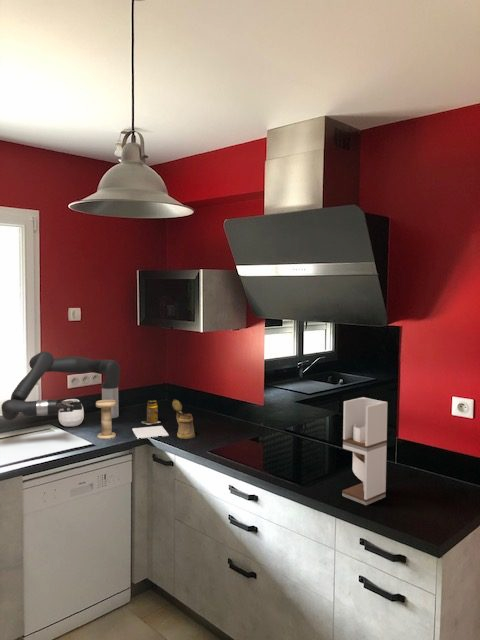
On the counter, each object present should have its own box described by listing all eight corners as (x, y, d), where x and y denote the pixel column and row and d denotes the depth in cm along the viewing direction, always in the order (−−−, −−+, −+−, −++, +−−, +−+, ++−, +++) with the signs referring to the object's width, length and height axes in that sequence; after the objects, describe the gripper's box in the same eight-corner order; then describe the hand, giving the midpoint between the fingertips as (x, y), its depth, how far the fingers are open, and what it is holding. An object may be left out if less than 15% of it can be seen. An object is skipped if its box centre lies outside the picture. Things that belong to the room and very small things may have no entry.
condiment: (160, 422, 293) (160, 401, 292) (148, 425, 287) (147, 403, 286) (153, 419, 298) (153, 399, 297) (140, 422, 292) (140, 401, 291)
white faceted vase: (64, 429, 277) (64, 404, 277) (54, 424, 287) (54, 400, 286) (88, 425, 286) (87, 401, 285) (77, 420, 296) (77, 397, 295)
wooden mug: (180, 431, 275) (180, 397, 274) (198, 436, 266) (198, 401, 265) (167, 434, 268) (167, 400, 267) (185, 440, 259) (185, 404, 258)
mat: (132, 429, 278) (132, 428, 278) (161, 426, 284) (161, 425, 283) (137, 438, 261) (137, 437, 261) (168, 435, 267) (168, 434, 267)
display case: (361, 488, 199) (363, 397, 196) (385, 497, 190) (387, 402, 188) (342, 495, 191) (343, 401, 189) (366, 505, 183) (367, 406, 181)
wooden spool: (95, 435, 268) (95, 400, 267) (115, 433, 271) (115, 398, 270) (97, 440, 259) (96, 404, 257) (117, 438, 262) (117, 403, 261)
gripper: (46, 402, 247) (82, 400, 253) (46, 397, 261) (80, 395, 266) (46, 418, 248) (82, 416, 253) (47, 411, 261) (80, 409, 267)
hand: (81, 405), depth 260 cm, fingers open, 8 cm apart
